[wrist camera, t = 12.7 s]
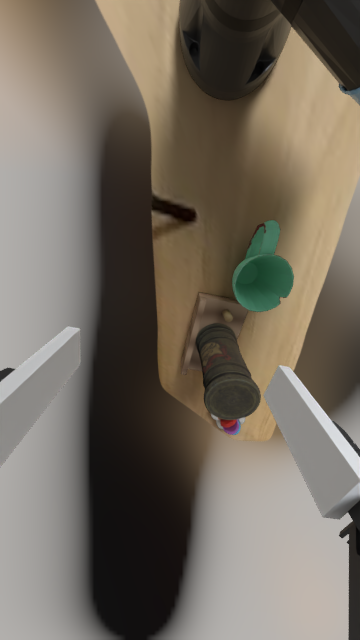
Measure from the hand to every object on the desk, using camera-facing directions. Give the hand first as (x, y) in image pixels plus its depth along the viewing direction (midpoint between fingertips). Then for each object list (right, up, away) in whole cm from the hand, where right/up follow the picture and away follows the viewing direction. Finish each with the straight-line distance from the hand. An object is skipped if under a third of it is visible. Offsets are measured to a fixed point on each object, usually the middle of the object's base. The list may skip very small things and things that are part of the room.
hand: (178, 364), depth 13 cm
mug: (+14, +15, +28) cm, 35 cm away
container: (+8, -2, +32) cm, 33 cm away
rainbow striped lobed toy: (+14, -24, +46) cm, 54 cm away
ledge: (+8, 0, +35) cm, 36 cm away
